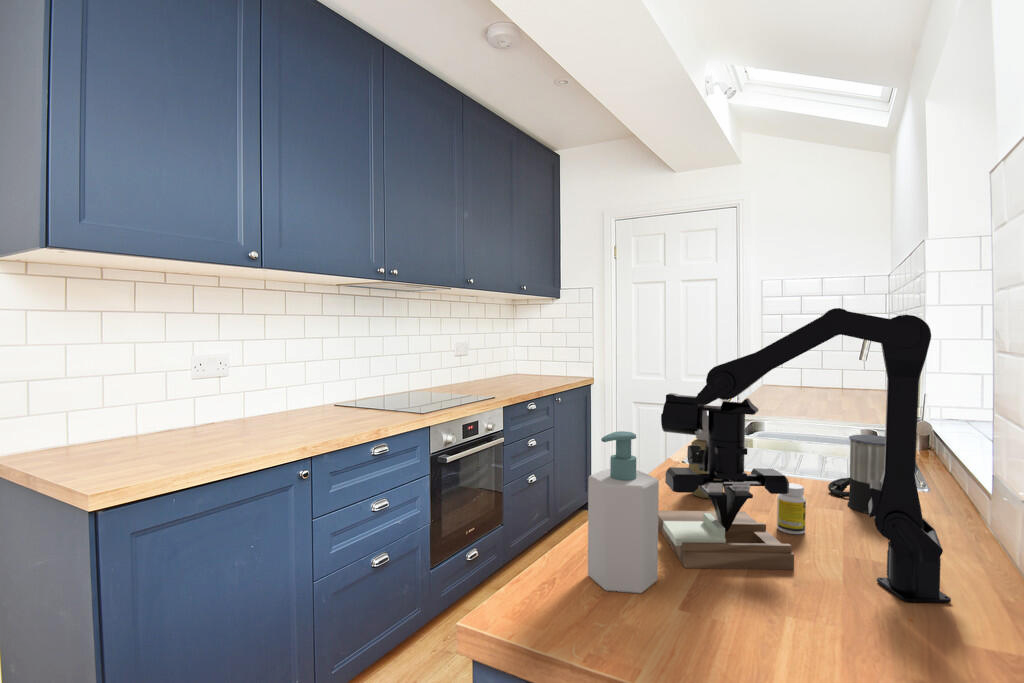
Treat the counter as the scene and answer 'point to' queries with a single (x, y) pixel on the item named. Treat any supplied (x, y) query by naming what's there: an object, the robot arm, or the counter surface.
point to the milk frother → (861, 470)
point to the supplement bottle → (791, 510)
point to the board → (731, 545)
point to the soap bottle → (623, 522)
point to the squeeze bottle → (700, 441)
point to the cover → (695, 531)
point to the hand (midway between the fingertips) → (724, 530)
